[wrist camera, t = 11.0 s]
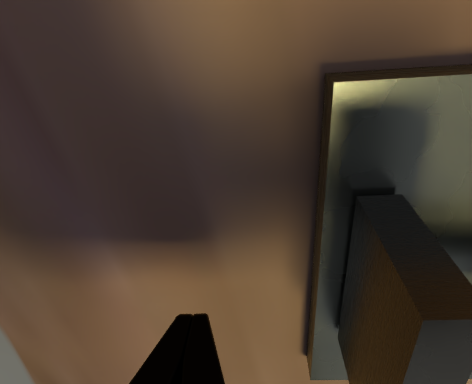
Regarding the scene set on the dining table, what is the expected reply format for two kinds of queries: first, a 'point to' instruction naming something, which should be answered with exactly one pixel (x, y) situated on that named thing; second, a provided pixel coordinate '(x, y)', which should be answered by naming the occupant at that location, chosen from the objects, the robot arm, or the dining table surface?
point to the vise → (387, 177)
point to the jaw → (402, 301)
